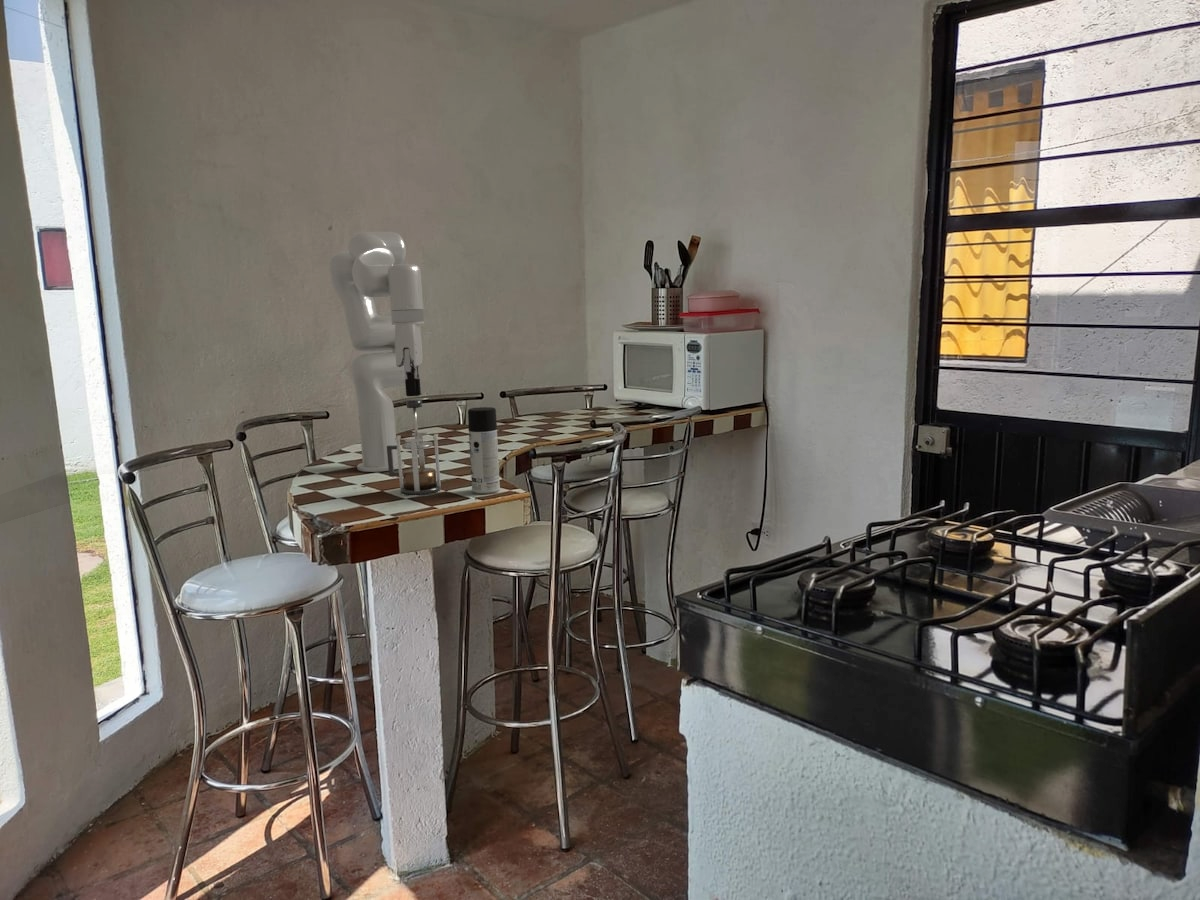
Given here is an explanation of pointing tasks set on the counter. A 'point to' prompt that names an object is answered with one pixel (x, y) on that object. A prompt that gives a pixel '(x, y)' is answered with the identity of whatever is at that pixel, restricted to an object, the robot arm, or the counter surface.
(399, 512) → the counter surface
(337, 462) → the counter surface
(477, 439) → the spray can
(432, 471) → the cafetera
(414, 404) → the coffee press plunger
